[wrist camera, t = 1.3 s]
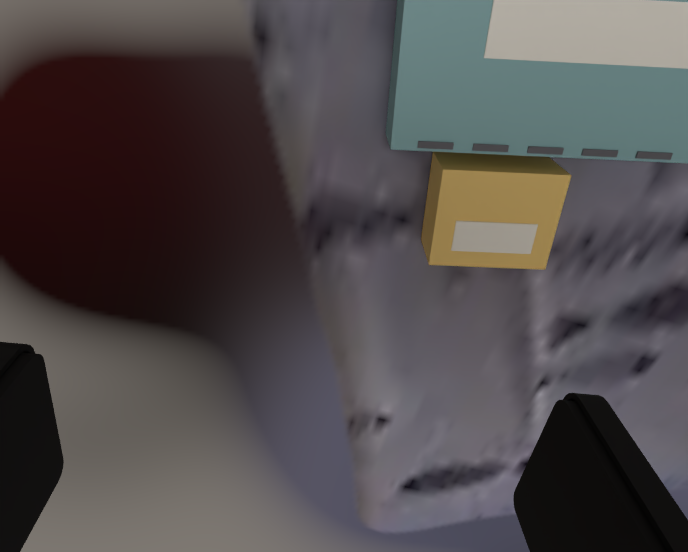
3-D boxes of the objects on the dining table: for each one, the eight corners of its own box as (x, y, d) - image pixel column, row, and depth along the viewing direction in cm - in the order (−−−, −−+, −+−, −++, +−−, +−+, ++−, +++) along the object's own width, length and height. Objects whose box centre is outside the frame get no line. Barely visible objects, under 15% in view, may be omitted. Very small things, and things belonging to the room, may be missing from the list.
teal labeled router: (723, -38, 22) (777, -42, 19) (658, 146, 26) (695, 164, 23) (402, -57, 21) (410, -63, 19) (385, 133, 25) (390, 150, 23)
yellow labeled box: (548, 156, 26) (572, 176, 23) (526, 243, 28) (545, 270, 26) (432, 151, 26) (443, 170, 23) (420, 239, 28) (429, 265, 26)
